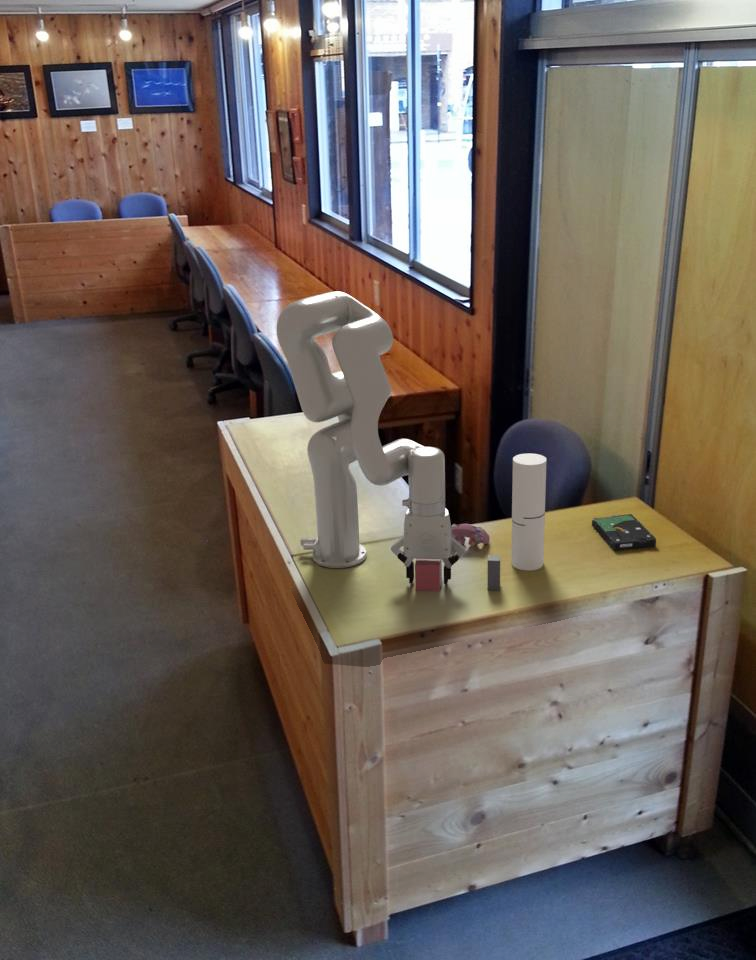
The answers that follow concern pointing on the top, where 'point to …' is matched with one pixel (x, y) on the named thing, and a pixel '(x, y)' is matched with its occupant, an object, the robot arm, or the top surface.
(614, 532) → the disk drive
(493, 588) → the post
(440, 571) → the pink matte cube
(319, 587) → the top surface
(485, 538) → the purple lumpy figure
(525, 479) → the cylindrical container
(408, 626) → the top surface
